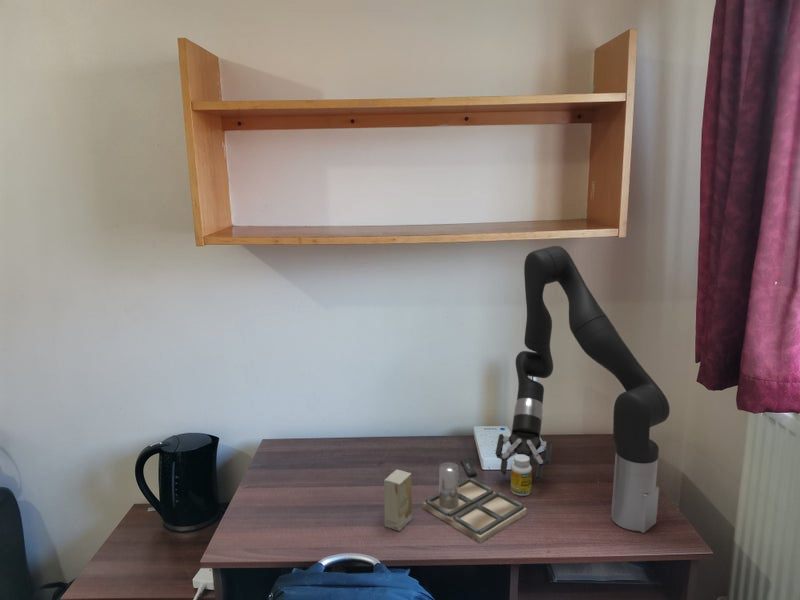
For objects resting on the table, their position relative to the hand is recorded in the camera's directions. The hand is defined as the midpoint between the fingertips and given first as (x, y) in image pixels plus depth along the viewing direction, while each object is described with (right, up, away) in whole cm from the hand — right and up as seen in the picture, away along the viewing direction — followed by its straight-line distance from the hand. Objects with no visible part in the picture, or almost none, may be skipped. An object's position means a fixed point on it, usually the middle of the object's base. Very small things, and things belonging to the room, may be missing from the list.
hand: (520, 477), depth 153 cm
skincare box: (-32, -8, -11) cm, 34 cm away
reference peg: (-19, -5, -6) cm, 21 cm away
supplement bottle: (+1, -5, +2) cm, 5 cm away
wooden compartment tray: (-13, -6, -7) cm, 16 cm away
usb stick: (-12, -2, +14) cm, 19 cm away
